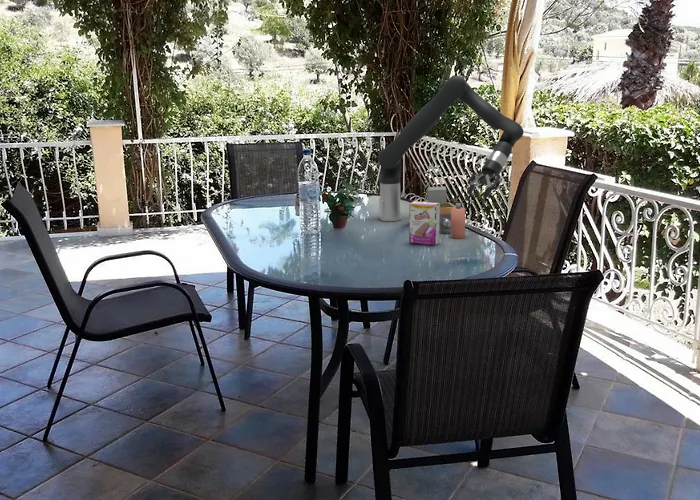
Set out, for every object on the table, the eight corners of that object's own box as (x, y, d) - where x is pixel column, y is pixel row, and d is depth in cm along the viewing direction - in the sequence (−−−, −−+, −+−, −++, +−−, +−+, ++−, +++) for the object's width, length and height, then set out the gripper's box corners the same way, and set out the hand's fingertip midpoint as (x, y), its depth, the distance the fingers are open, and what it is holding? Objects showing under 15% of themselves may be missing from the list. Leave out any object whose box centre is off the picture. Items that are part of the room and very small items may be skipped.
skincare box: (446, 220, 297) (446, 185, 292) (446, 223, 290) (447, 188, 285) (427, 220, 297) (427, 186, 293) (427, 223, 291) (428, 188, 286)
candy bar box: (408, 243, 259) (408, 203, 254) (413, 240, 263) (413, 200, 259) (435, 246, 254) (436, 205, 250) (439, 243, 259) (440, 202, 254)
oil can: (453, 239, 264) (454, 205, 260) (449, 235, 269) (449, 202, 265) (466, 238, 265) (467, 204, 261) (461, 234, 270) (462, 201, 266)
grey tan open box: (434, 235, 271) (435, 210, 268) (423, 226, 287) (423, 202, 284) (460, 233, 273) (460, 208, 270) (447, 224, 288) (448, 201, 286)
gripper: (477, 157, 277) (459, 187, 273) (504, 160, 266) (486, 191, 262) (485, 168, 281) (467, 198, 277) (512, 171, 271) (494, 202, 267)
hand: (476, 195), depth 270 cm, fingers open, 8 cm apart
